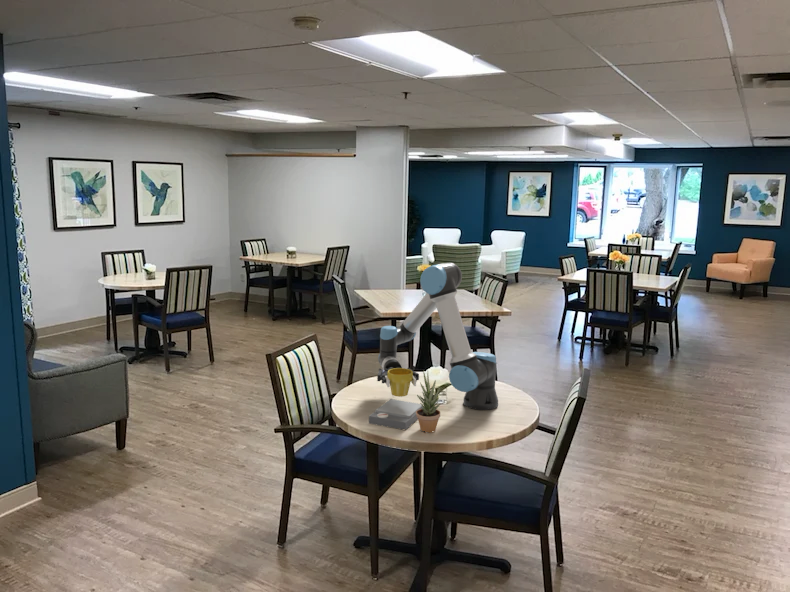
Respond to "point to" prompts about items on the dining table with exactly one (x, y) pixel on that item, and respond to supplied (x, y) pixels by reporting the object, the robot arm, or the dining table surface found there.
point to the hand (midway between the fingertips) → (401, 383)
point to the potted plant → (428, 408)
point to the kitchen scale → (395, 414)
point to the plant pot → (400, 381)
